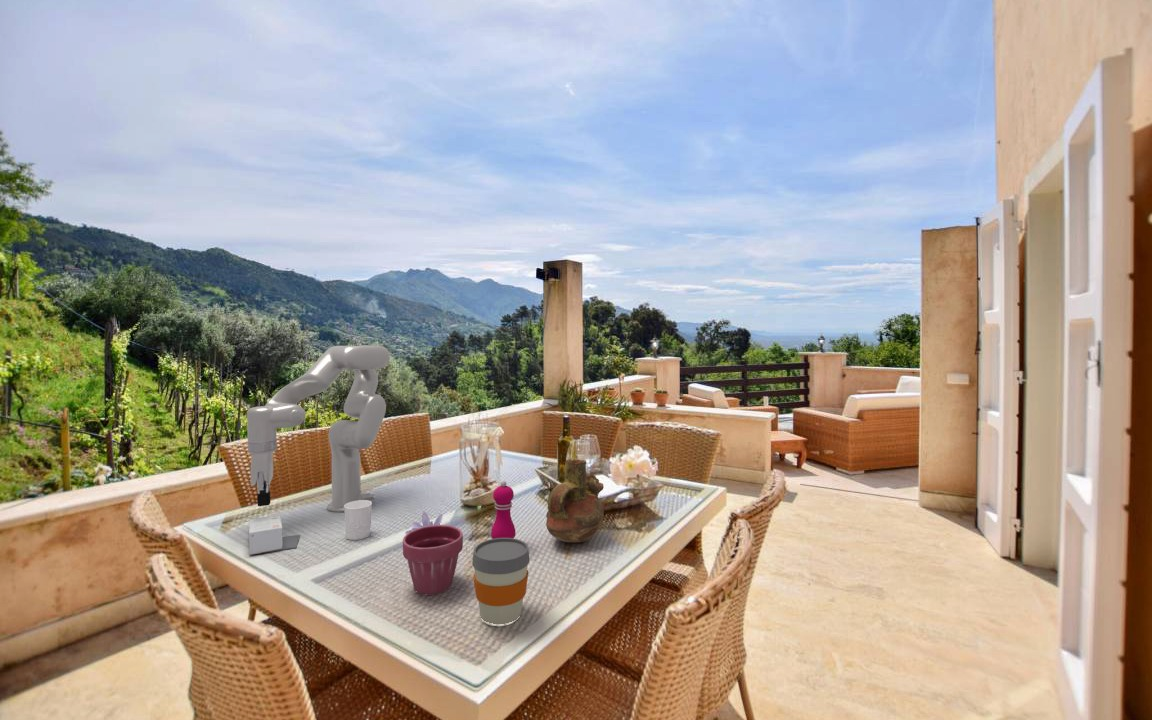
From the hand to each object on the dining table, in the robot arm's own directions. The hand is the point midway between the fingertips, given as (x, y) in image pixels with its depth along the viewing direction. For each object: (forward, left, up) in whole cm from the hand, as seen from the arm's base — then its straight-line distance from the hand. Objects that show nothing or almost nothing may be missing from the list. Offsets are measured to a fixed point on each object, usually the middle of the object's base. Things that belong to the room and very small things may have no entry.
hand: (264, 504), depth 151 cm
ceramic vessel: (-89, +41, -10) cm, 98 cm away
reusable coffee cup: (-56, +73, -10) cm, 92 cm away
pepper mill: (-66, +39, -10) cm, 77 cm away
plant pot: (-44, +54, -10) cm, 70 cm away
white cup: (-27, +13, -10) cm, 31 cm away
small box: (-1, +3, -6) cm, 7 cm away
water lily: (-44, +33, -10) cm, 56 cm away
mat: (-5, +11, -9) cm, 15 cm away
